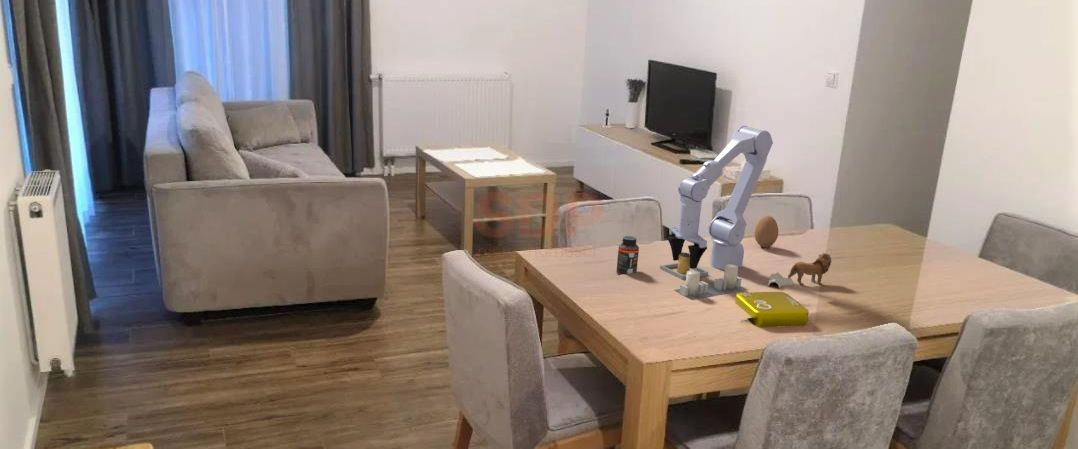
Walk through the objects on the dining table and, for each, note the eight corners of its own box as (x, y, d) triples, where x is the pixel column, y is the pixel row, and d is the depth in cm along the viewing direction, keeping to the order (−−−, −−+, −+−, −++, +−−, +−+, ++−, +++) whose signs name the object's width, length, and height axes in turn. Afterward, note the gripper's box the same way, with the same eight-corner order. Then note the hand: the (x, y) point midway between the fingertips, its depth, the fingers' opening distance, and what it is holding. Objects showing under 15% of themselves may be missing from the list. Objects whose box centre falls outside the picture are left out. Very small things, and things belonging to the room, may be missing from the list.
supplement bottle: (635, 279, 249) (638, 241, 246) (615, 276, 250) (618, 239, 247) (637, 272, 255) (640, 236, 251) (617, 270, 256) (620, 233, 253)
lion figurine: (820, 278, 259) (825, 250, 257) (832, 284, 254) (837, 255, 252) (780, 282, 254) (784, 253, 251) (792, 288, 249) (796, 259, 246)
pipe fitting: (792, 288, 251) (769, 283, 253) (795, 276, 249) (771, 270, 251) (790, 297, 243) (766, 291, 245) (793, 284, 242) (769, 278, 244)
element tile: (809, 327, 222) (812, 310, 221) (756, 329, 219) (758, 311, 217) (782, 305, 236) (784, 289, 235) (731, 307, 233) (733, 290, 231)
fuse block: (727, 285, 248) (728, 272, 247) (746, 294, 241) (748, 281, 240) (672, 295, 238) (673, 281, 237) (691, 305, 231) (692, 291, 230)
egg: (780, 247, 288) (784, 216, 285) (769, 252, 282) (774, 220, 279) (759, 242, 292) (763, 211, 289) (748, 246, 287) (752, 215, 284)
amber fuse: (683, 272, 256) (685, 251, 254) (691, 276, 253) (694, 254, 251) (674, 274, 254) (676, 252, 252) (682, 277, 251) (685, 256, 249)
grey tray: (685, 269, 260) (686, 261, 259) (707, 279, 252) (708, 271, 251) (659, 273, 255) (660, 265, 254) (681, 284, 247) (682, 276, 246)
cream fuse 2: (729, 283, 245) (732, 263, 243) (738, 287, 242) (740, 267, 240) (720, 285, 243) (722, 265, 242) (728, 289, 240) (731, 269, 239)
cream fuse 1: (691, 290, 238) (694, 269, 236) (700, 294, 235) (702, 273, 233) (681, 292, 236) (684, 271, 234) (690, 296, 233) (692, 275, 232)
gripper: (663, 214, 252) (658, 258, 256) (695, 227, 241) (690, 273, 244) (681, 212, 256) (677, 255, 260) (714, 225, 244) (709, 270, 248)
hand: (684, 264), depth 252 cm, fingers open, 7 cm apart
